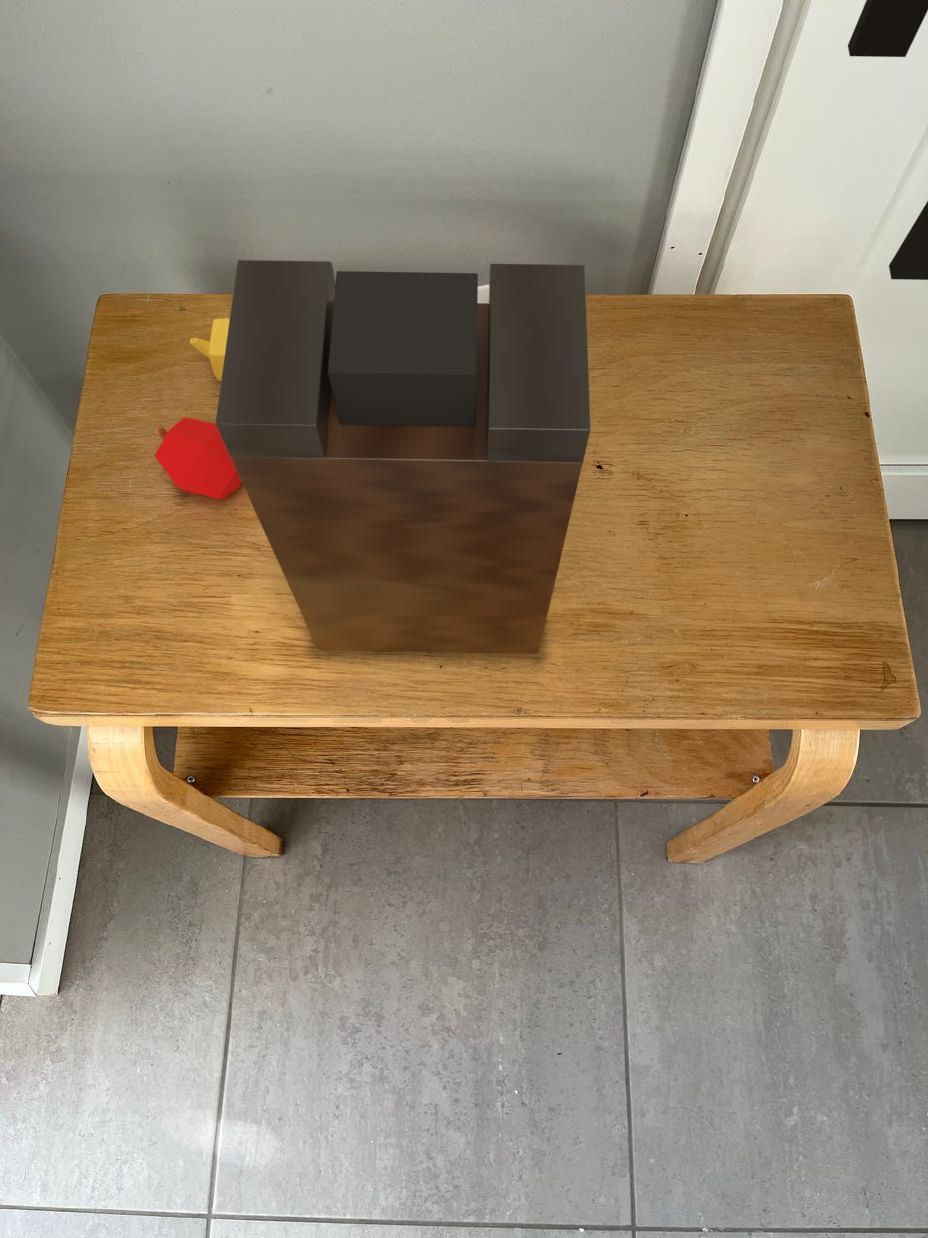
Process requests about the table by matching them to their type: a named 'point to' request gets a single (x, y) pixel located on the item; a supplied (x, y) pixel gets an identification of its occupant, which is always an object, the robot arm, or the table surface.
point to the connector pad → (404, 348)
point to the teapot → (214, 345)
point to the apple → (197, 459)
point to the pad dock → (412, 466)
